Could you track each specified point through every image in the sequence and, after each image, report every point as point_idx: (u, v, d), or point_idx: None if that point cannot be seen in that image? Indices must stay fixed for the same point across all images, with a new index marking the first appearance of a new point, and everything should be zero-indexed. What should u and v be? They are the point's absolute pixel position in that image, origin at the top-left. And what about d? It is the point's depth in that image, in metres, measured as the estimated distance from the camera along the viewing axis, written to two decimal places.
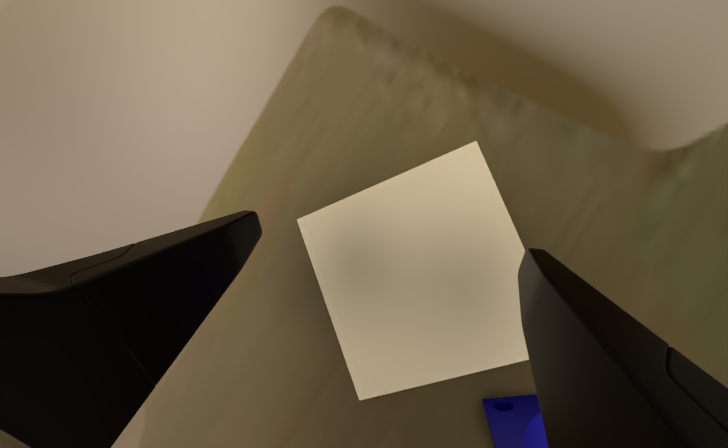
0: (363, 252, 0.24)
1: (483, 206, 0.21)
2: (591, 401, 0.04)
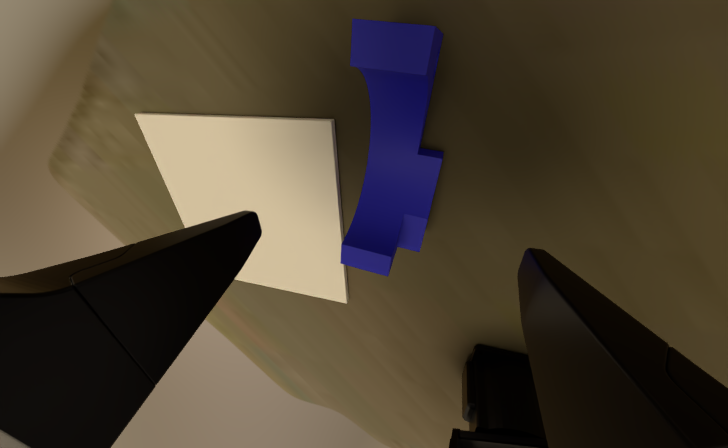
0: None
1: (191, 135, 0.21)
2: (591, 401, 0.04)
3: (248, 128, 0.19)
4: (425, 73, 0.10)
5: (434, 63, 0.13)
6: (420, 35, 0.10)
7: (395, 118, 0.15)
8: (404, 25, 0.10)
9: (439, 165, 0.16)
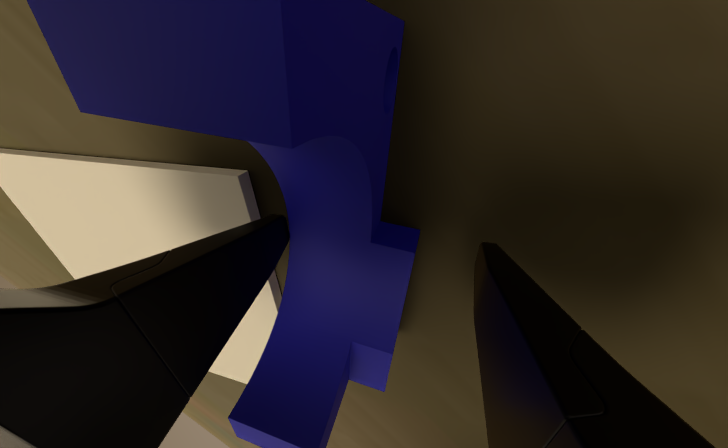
0: None
1: (51, 183, 0.14)
2: (512, 381, 0.05)
3: (121, 179, 0.12)
4: (289, 142, 0.03)
5: (375, 86, 0.06)
6: None
7: (320, 186, 0.08)
8: None
9: (410, 262, 0.09)
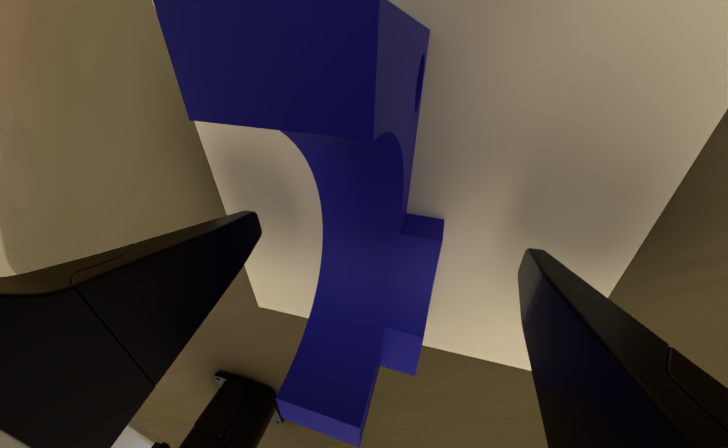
0: None
1: (648, 120, 0.07)
2: (591, 401, 0.04)
3: (596, 276, 0.10)
4: (371, 135, 0.04)
5: (412, 88, 0.06)
6: (339, 29, 0.03)
7: (354, 182, 0.09)
8: (288, 2, 0.03)
9: (438, 250, 0.10)
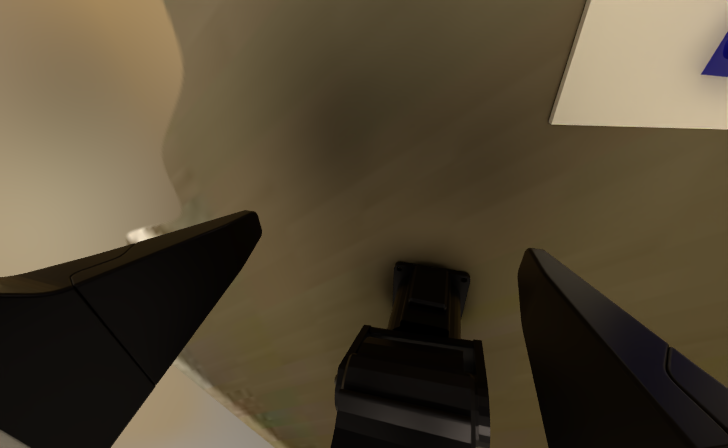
0: None
1: None
2: (591, 401, 0.04)
3: None
4: None
5: None
6: None
7: None
8: None
9: None
